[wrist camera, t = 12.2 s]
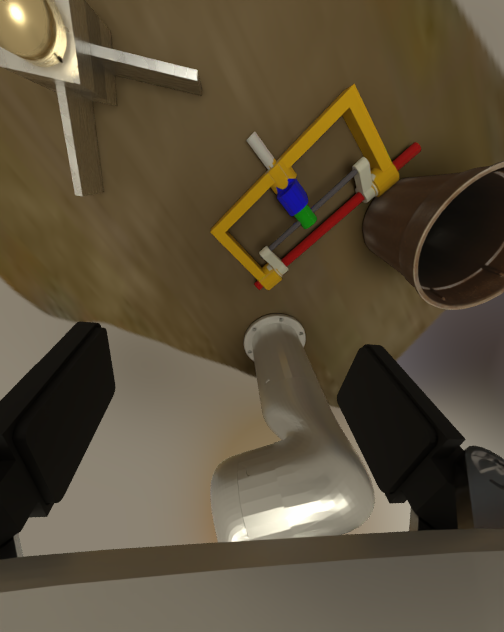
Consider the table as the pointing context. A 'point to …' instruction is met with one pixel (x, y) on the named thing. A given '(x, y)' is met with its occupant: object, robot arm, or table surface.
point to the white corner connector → (93, 84)
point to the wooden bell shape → (33, 31)
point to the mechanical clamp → (294, 195)
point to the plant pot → (443, 235)
